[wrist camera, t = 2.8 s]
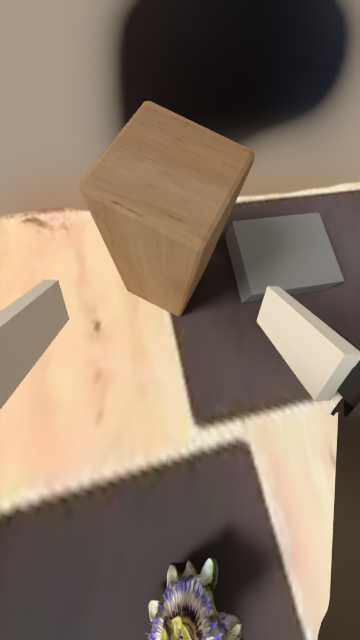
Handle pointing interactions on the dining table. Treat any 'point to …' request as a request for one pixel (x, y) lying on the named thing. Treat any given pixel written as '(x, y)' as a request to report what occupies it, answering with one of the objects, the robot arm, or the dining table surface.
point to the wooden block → (164, 201)
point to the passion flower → (191, 608)
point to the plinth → (281, 255)
